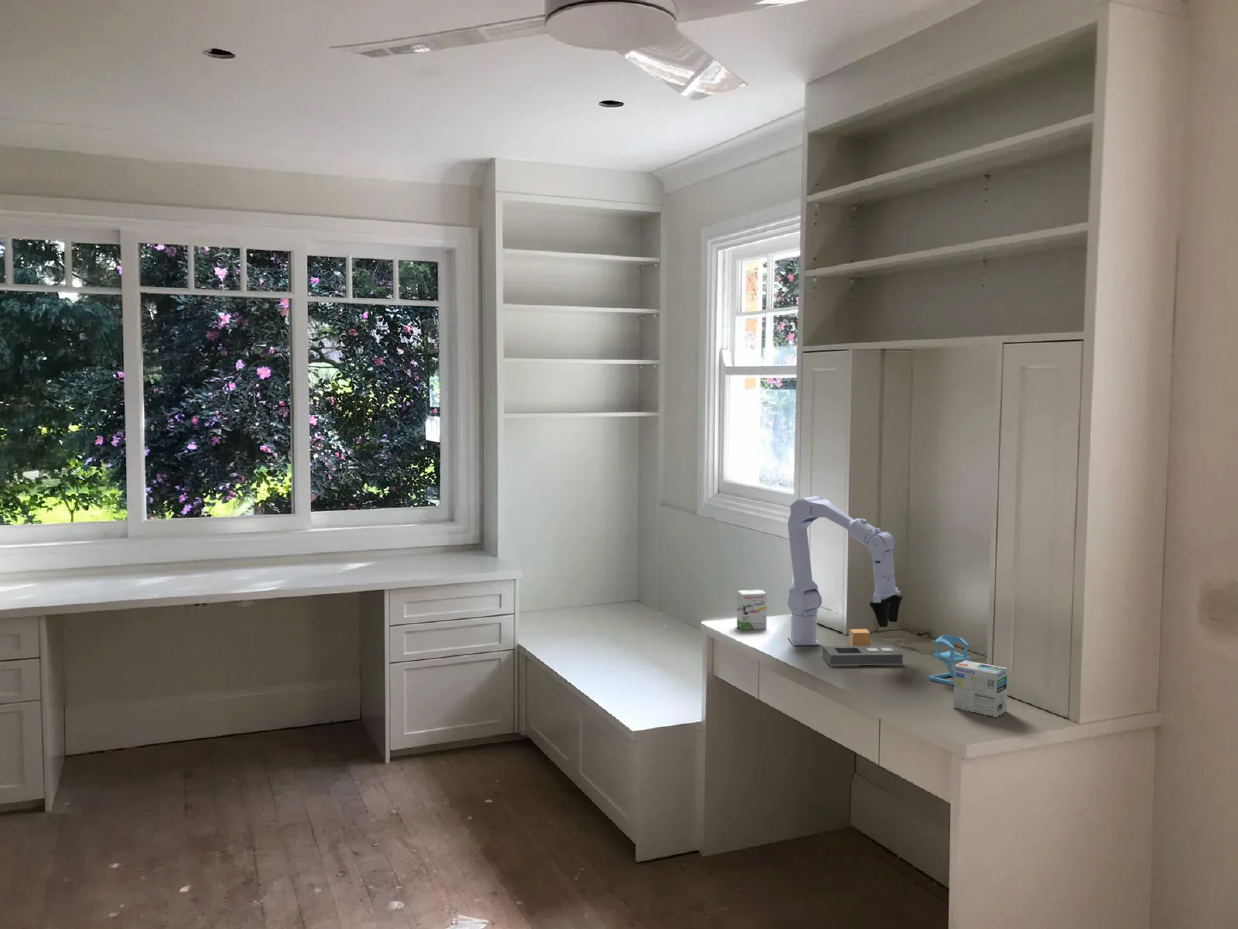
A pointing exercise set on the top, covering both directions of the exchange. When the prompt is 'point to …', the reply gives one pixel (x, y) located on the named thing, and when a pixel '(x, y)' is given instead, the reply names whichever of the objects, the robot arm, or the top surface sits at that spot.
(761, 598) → the ink box
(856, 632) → the plug block
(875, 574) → the robot arm
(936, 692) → the top surface
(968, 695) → the light bulb box
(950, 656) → the chair
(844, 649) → the power strip
